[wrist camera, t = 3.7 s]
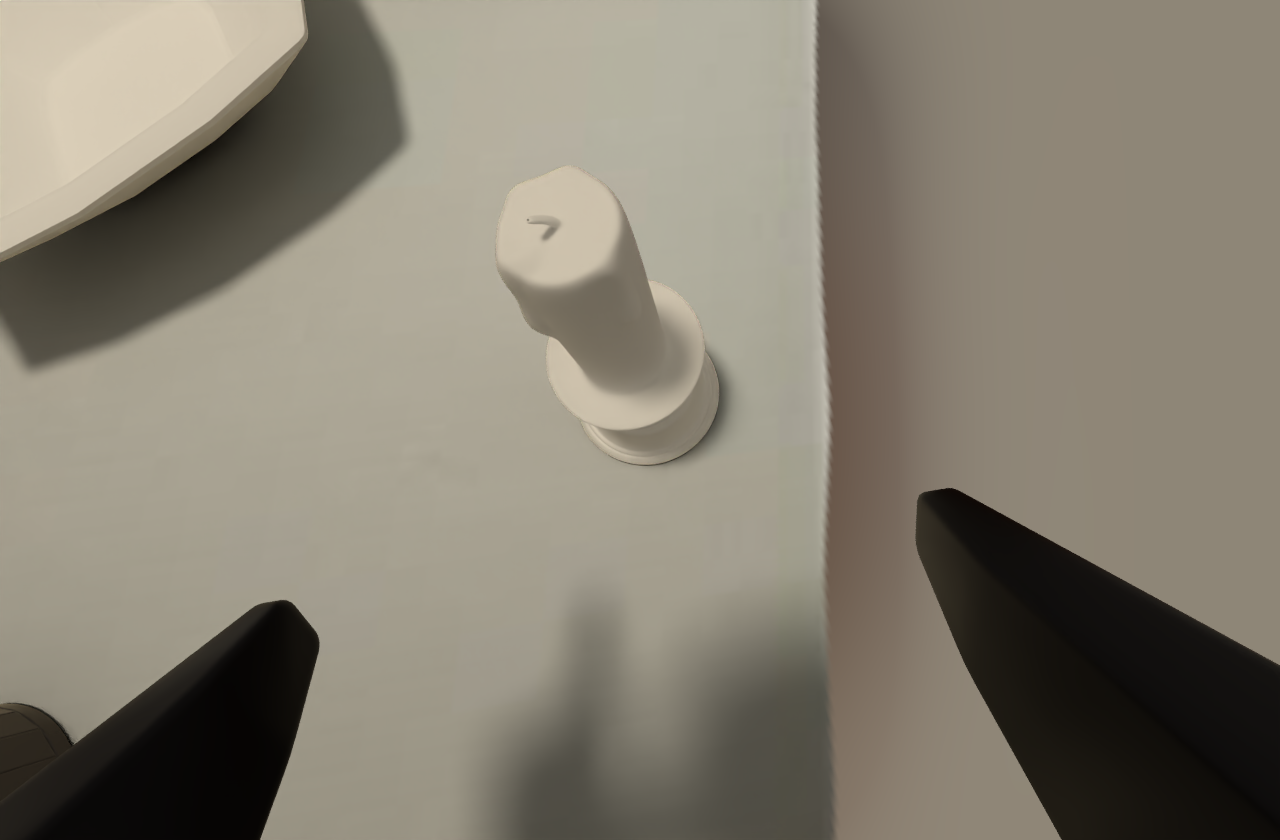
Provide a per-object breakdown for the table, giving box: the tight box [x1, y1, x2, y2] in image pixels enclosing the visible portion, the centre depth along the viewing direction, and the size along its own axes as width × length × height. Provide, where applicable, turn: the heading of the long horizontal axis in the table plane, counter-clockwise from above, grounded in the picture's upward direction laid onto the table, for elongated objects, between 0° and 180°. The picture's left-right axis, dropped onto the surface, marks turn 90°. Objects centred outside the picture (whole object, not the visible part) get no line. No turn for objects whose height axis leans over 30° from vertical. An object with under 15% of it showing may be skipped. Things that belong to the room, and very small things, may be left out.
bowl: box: [0, 0, 308, 262], centre depth 25 cm, size 22×23×6 cm
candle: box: [495, 166, 719, 465], centre depth 15 cm, size 5×5×12 cm
